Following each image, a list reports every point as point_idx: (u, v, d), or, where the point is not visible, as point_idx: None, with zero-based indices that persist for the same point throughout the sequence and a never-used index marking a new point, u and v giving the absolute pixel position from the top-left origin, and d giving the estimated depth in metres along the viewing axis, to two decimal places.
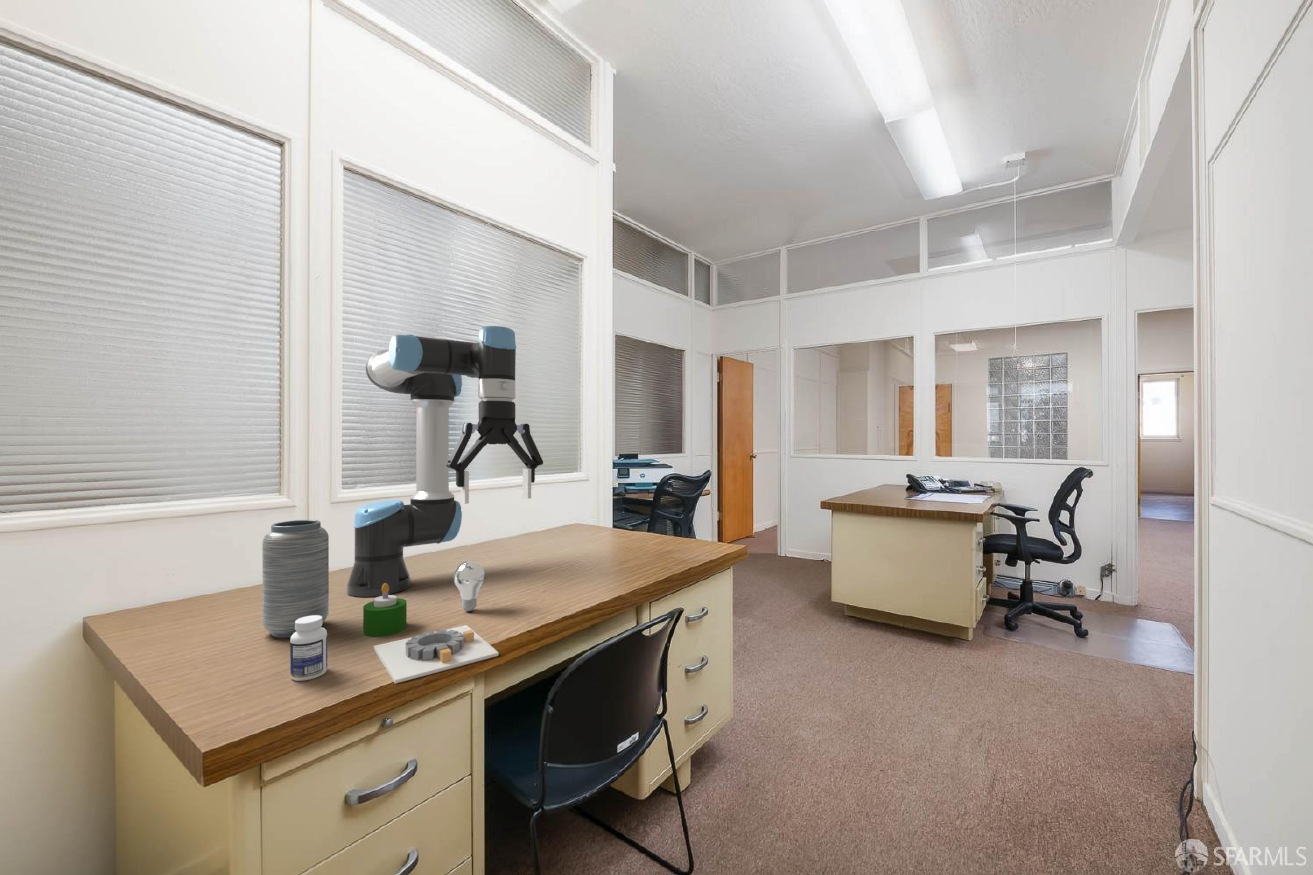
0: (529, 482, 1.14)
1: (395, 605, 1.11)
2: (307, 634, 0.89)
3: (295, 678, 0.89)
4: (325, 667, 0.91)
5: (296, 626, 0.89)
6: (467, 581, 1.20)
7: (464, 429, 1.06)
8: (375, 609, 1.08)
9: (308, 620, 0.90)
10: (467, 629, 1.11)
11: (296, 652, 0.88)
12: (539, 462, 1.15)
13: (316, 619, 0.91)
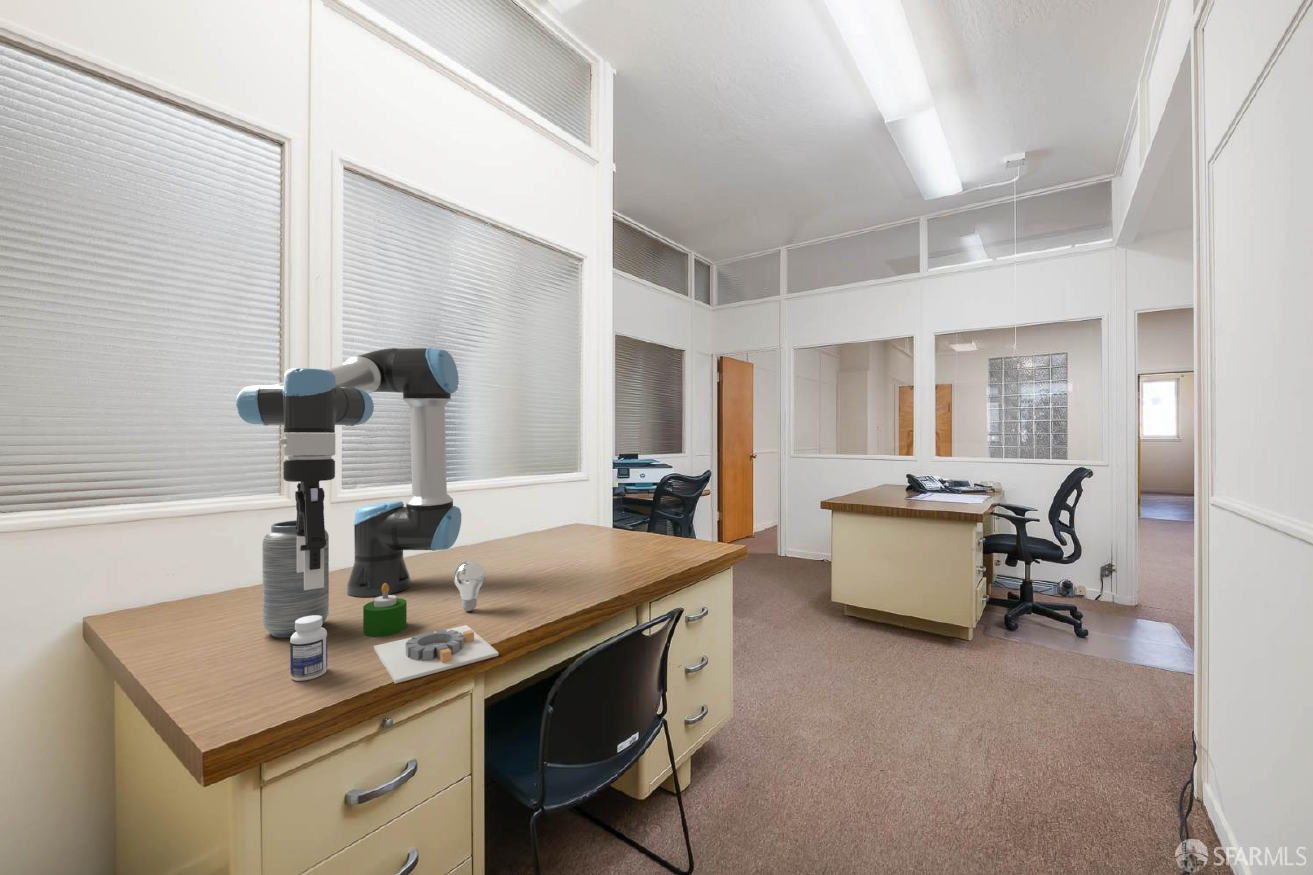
0: (304, 568, 0.85)
1: (395, 605, 1.11)
2: (307, 634, 0.89)
3: (295, 678, 0.89)
4: (325, 667, 0.91)
5: (296, 626, 0.89)
6: (467, 581, 1.20)
7: None
8: (375, 609, 1.08)
9: (308, 620, 0.90)
10: (467, 629, 1.11)
11: (296, 652, 0.88)
12: None
13: (316, 619, 0.91)
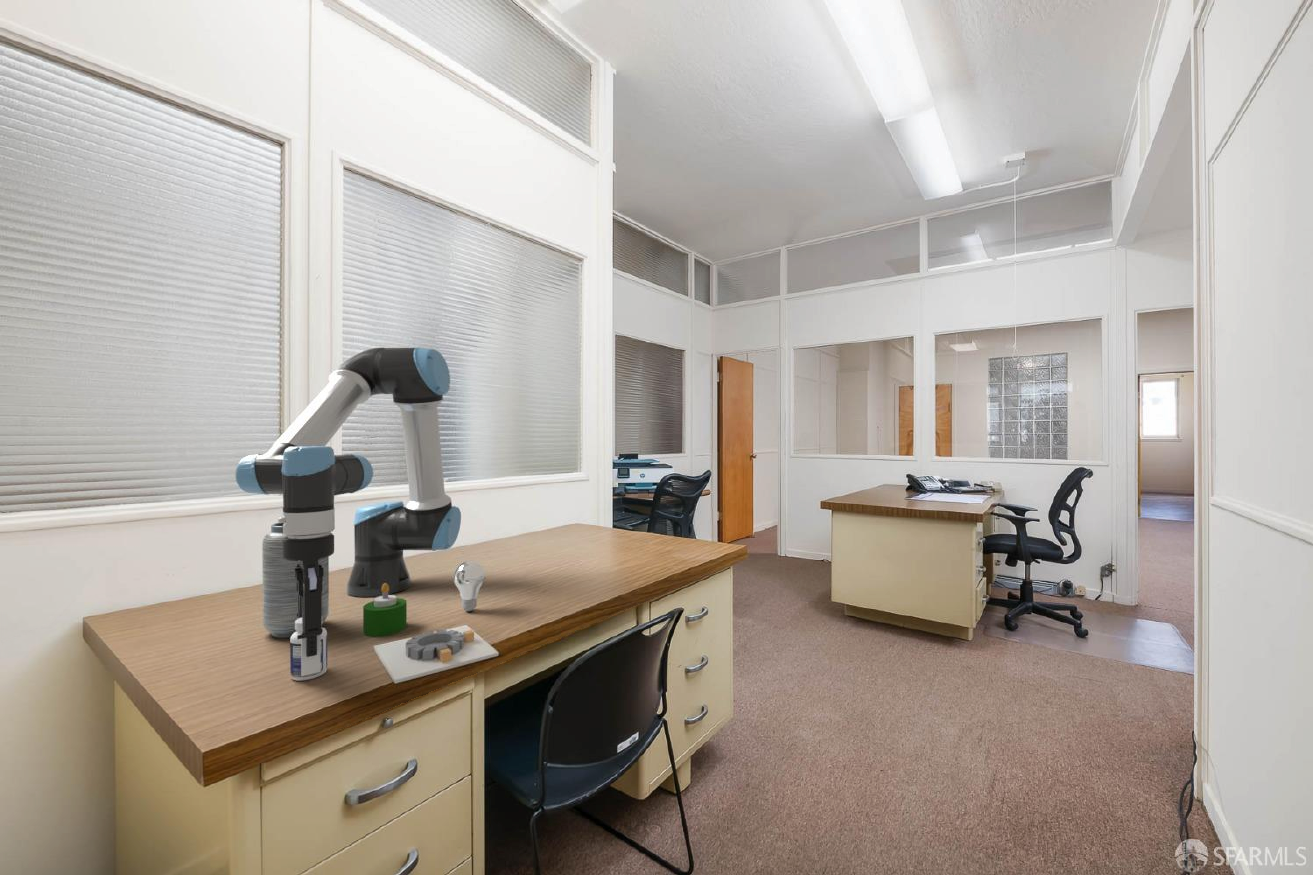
0: (301, 654, 0.88)
1: (395, 605, 1.11)
2: None
3: (295, 678, 0.89)
4: (325, 667, 0.91)
5: (296, 626, 0.89)
6: (467, 581, 1.20)
7: None
8: (375, 609, 1.08)
9: None
10: (467, 629, 1.11)
11: (296, 652, 0.88)
12: (303, 632, 0.86)
13: None
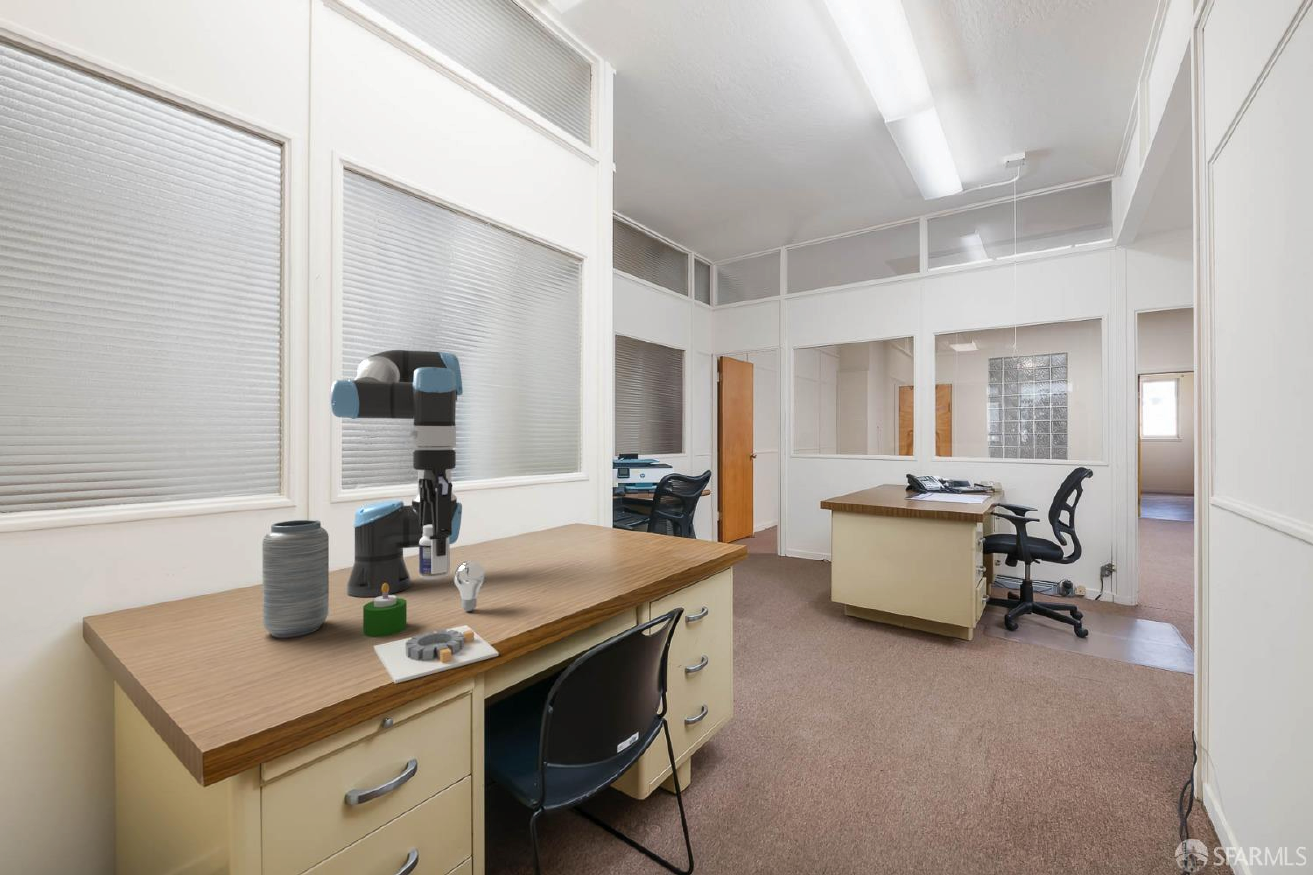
0: (431, 554, 0.97)
1: (395, 605, 1.11)
2: None
3: (425, 577, 0.98)
4: (448, 570, 1.00)
5: (425, 530, 0.98)
6: (467, 581, 1.20)
7: None
8: (375, 609, 1.08)
9: None
10: (467, 629, 1.11)
11: (426, 553, 0.98)
12: (436, 532, 0.95)
13: None
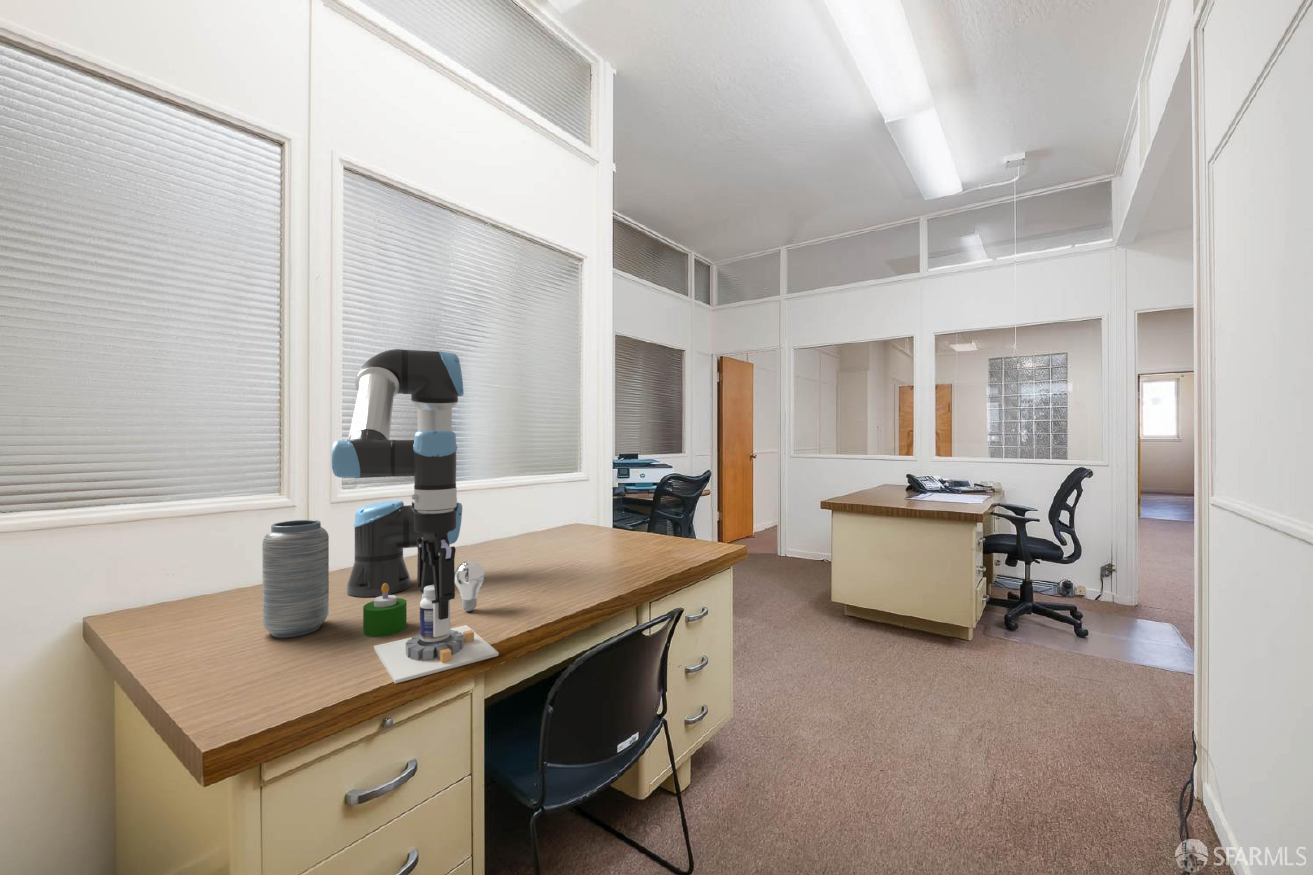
0: (433, 617, 0.97)
1: (395, 605, 1.11)
2: None
3: (427, 640, 0.98)
4: (449, 630, 1.01)
5: (426, 593, 0.99)
6: (467, 581, 1.20)
7: None
8: (375, 609, 1.08)
9: None
10: (467, 629, 1.11)
11: (428, 616, 0.98)
12: (439, 597, 0.96)
13: None
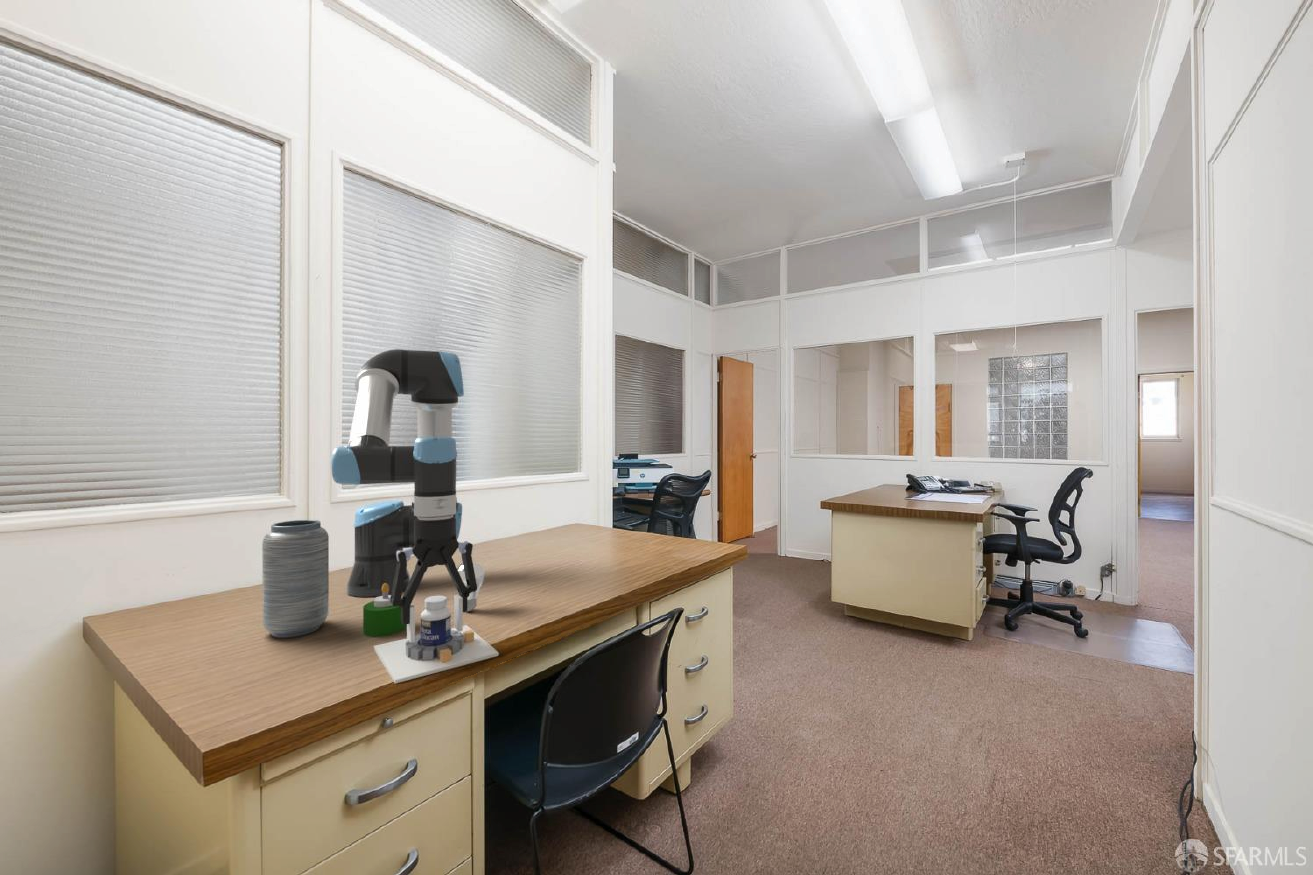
0: (460, 613, 1.02)
1: None
2: (446, 607, 1.01)
3: None
4: None
5: (442, 603, 0.99)
6: None
7: (398, 559, 0.96)
8: (375, 609, 1.08)
9: (439, 598, 1.01)
10: (467, 629, 1.11)
11: (448, 624, 1.00)
12: (472, 588, 1.04)
13: (439, 596, 1.02)
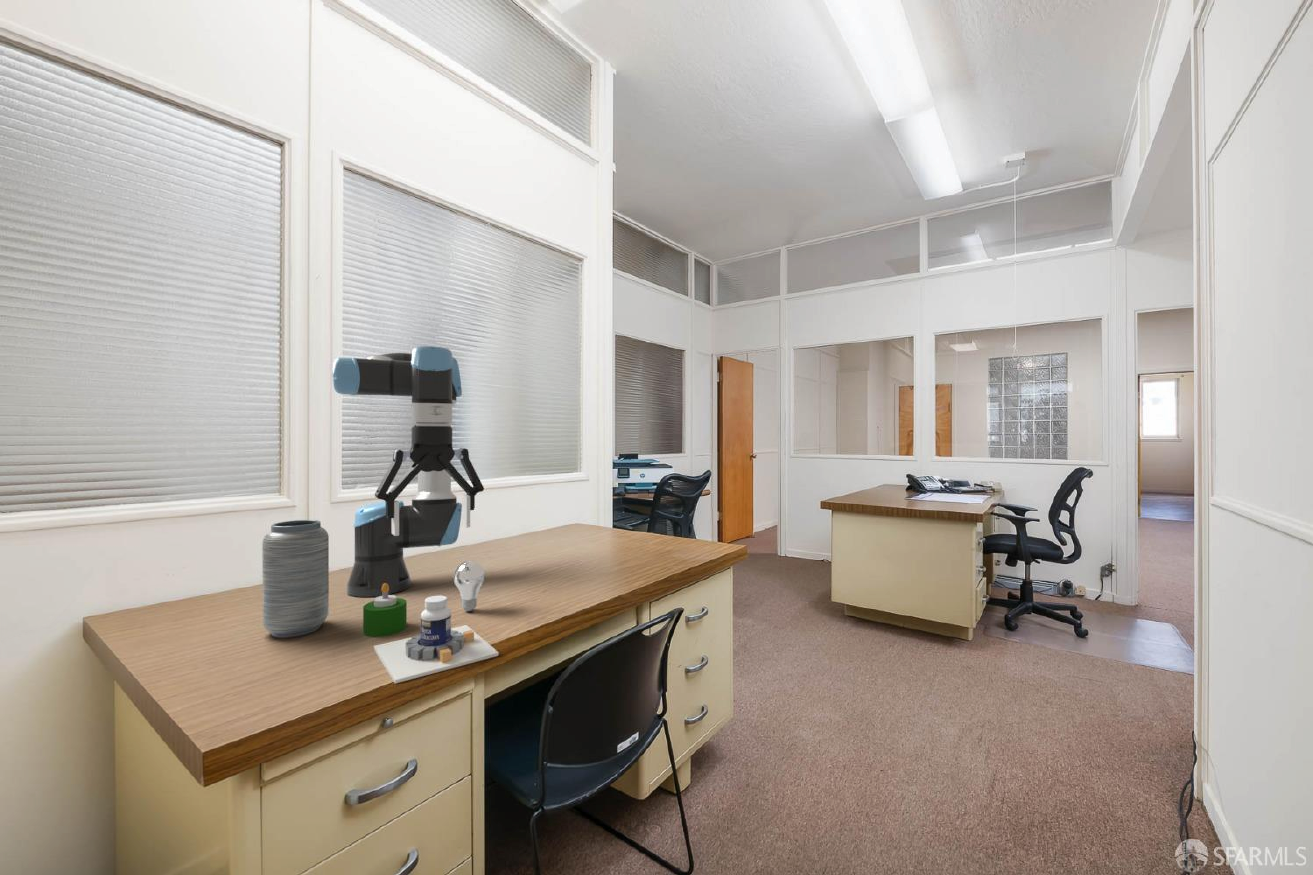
0: (468, 510, 1.08)
1: (395, 605, 1.11)
2: (446, 607, 1.01)
3: None
4: None
5: (442, 603, 0.99)
6: (467, 581, 1.20)
7: (394, 457, 1.00)
8: (375, 609, 1.08)
9: (439, 598, 1.01)
10: (467, 629, 1.11)
11: (448, 624, 1.00)
12: (479, 488, 1.10)
13: (440, 596, 1.02)
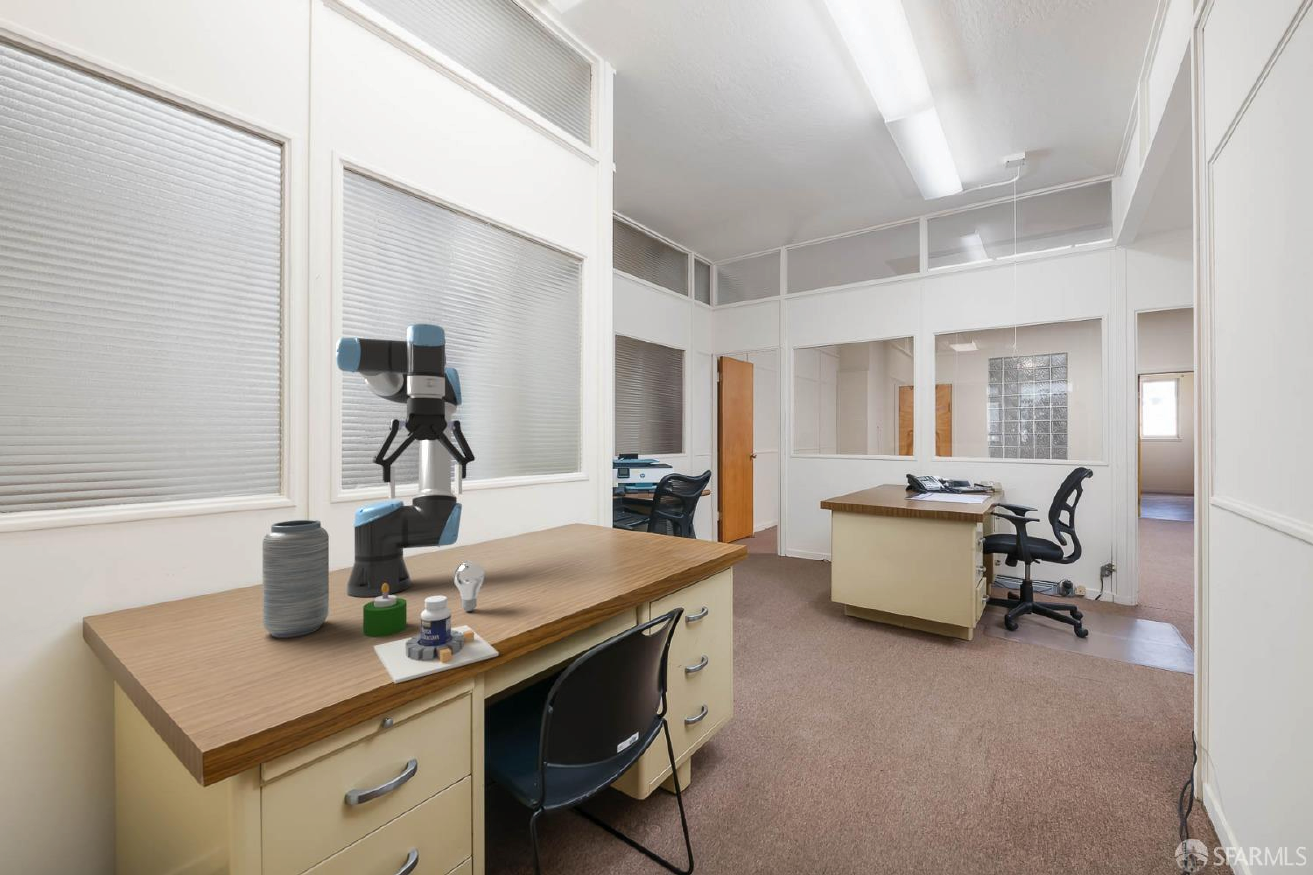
0: (460, 478, 1.16)
1: (395, 605, 1.11)
2: (446, 607, 1.01)
3: None
4: None
5: (442, 603, 0.99)
6: (467, 581, 1.20)
7: (391, 425, 1.08)
8: (375, 609, 1.08)
9: (439, 598, 1.01)
10: (467, 629, 1.11)
11: (448, 624, 1.00)
12: (470, 458, 1.17)
13: (440, 596, 1.02)
